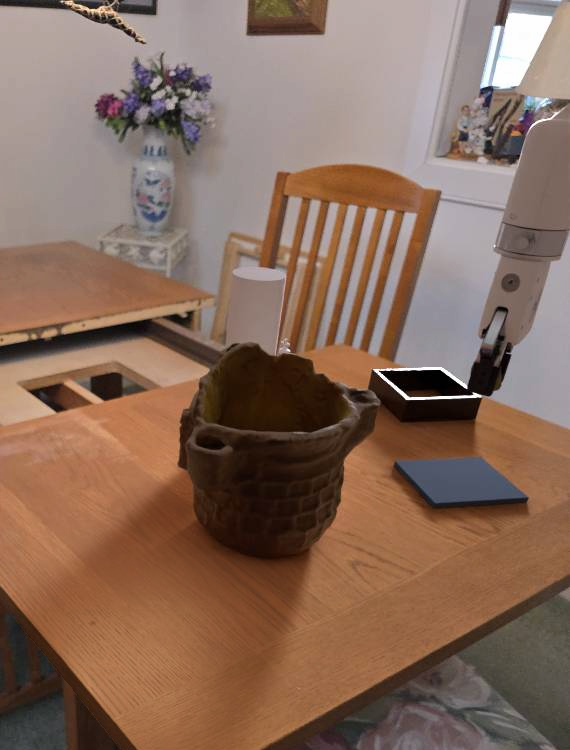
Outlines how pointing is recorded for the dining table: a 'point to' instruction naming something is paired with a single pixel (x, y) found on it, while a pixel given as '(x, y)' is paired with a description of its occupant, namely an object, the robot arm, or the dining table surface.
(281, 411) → the ceramic vessel
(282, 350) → the chess piece
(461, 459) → the mat
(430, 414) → the basin
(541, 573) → the dining table surface
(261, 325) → the cylindrical container
